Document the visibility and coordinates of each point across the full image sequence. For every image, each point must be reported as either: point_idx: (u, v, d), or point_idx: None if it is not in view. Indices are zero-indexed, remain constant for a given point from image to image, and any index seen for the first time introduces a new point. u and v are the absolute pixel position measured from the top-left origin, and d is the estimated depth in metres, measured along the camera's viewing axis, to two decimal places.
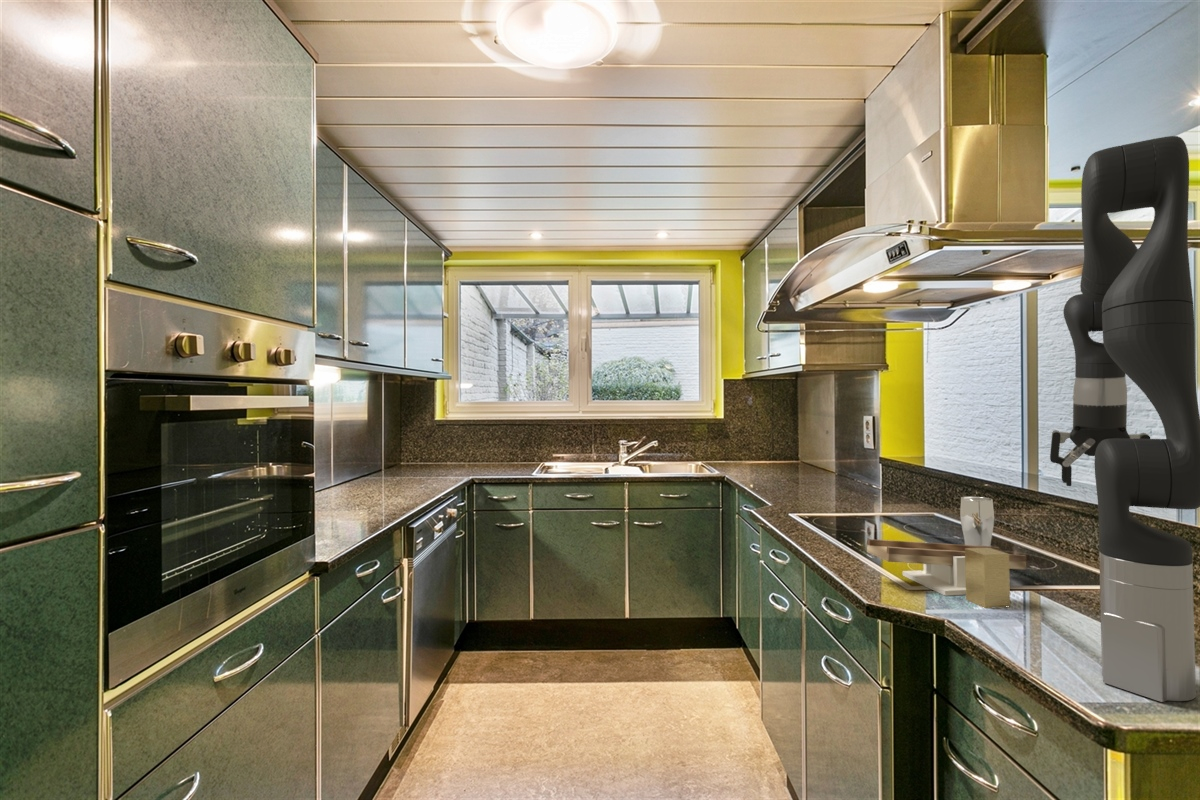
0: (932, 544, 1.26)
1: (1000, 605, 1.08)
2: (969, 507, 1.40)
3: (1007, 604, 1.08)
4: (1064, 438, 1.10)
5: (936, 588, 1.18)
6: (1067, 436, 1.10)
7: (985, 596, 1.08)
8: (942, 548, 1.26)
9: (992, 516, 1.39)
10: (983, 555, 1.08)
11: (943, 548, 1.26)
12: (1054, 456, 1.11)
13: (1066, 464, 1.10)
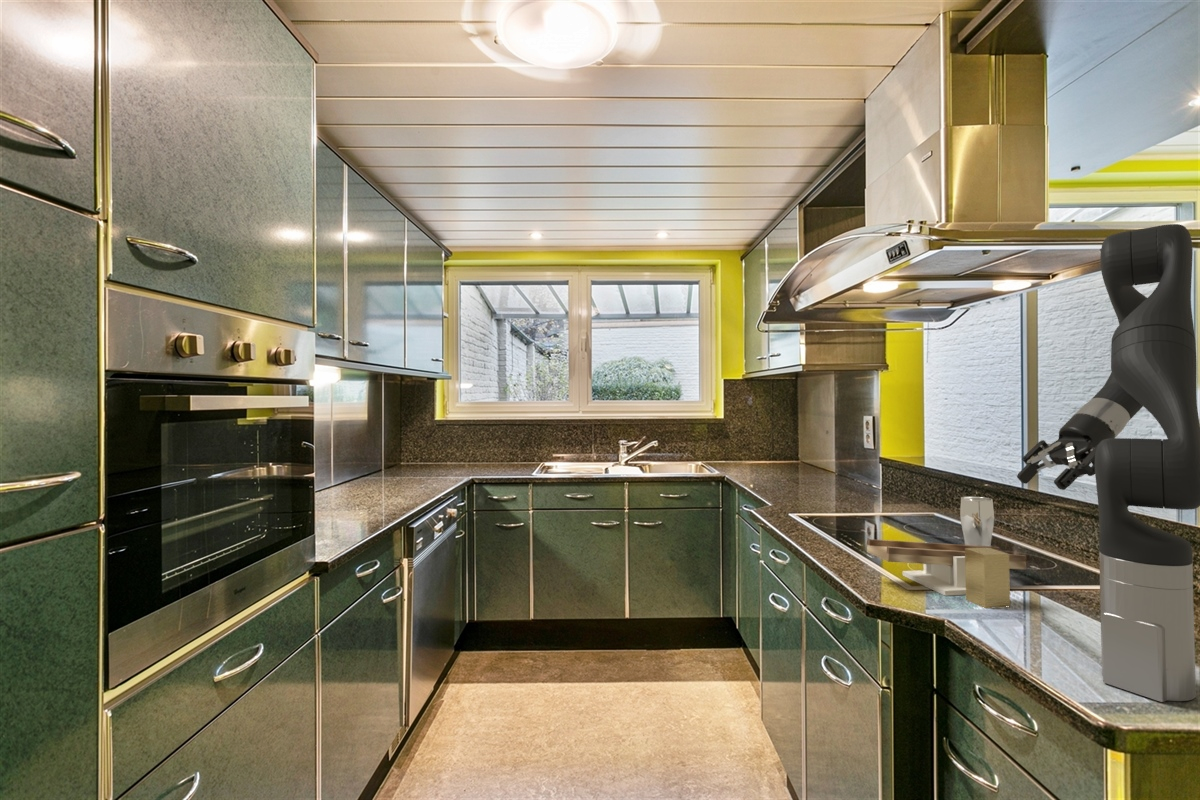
0: (932, 544, 1.26)
1: (1000, 605, 1.08)
2: (969, 507, 1.40)
3: (1007, 604, 1.08)
4: (1046, 447, 1.18)
5: (936, 588, 1.18)
6: (1049, 446, 1.18)
7: (985, 596, 1.08)
8: (942, 548, 1.26)
9: (992, 516, 1.39)
10: (983, 555, 1.08)
11: (943, 548, 1.26)
12: (1026, 455, 1.19)
13: (1029, 460, 1.17)
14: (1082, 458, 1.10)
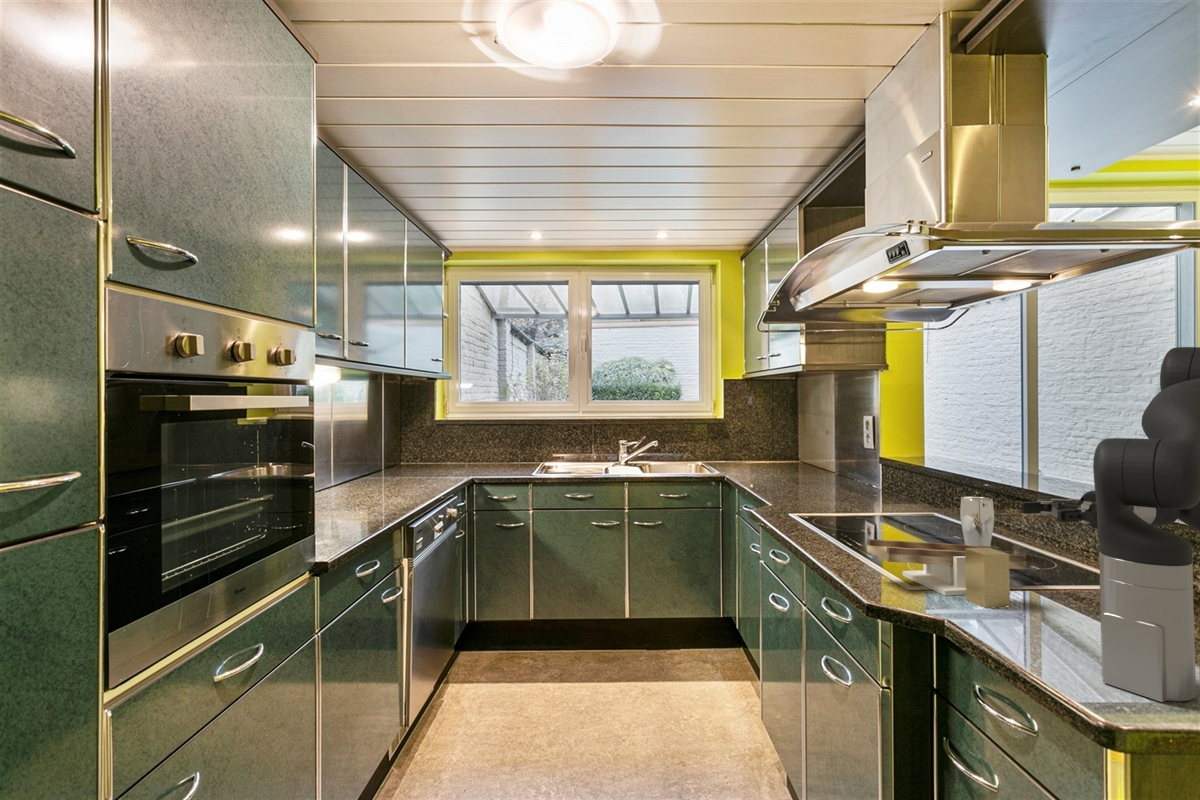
0: (932, 544, 1.26)
1: (1000, 605, 1.08)
2: (969, 507, 1.40)
3: (1007, 604, 1.08)
4: (1060, 503, 1.18)
5: (936, 588, 1.18)
6: None
7: (985, 596, 1.08)
8: (942, 548, 1.26)
9: (992, 516, 1.39)
10: (983, 555, 1.08)
11: (943, 548, 1.26)
12: (1038, 499, 1.19)
13: (1039, 500, 1.17)
14: None
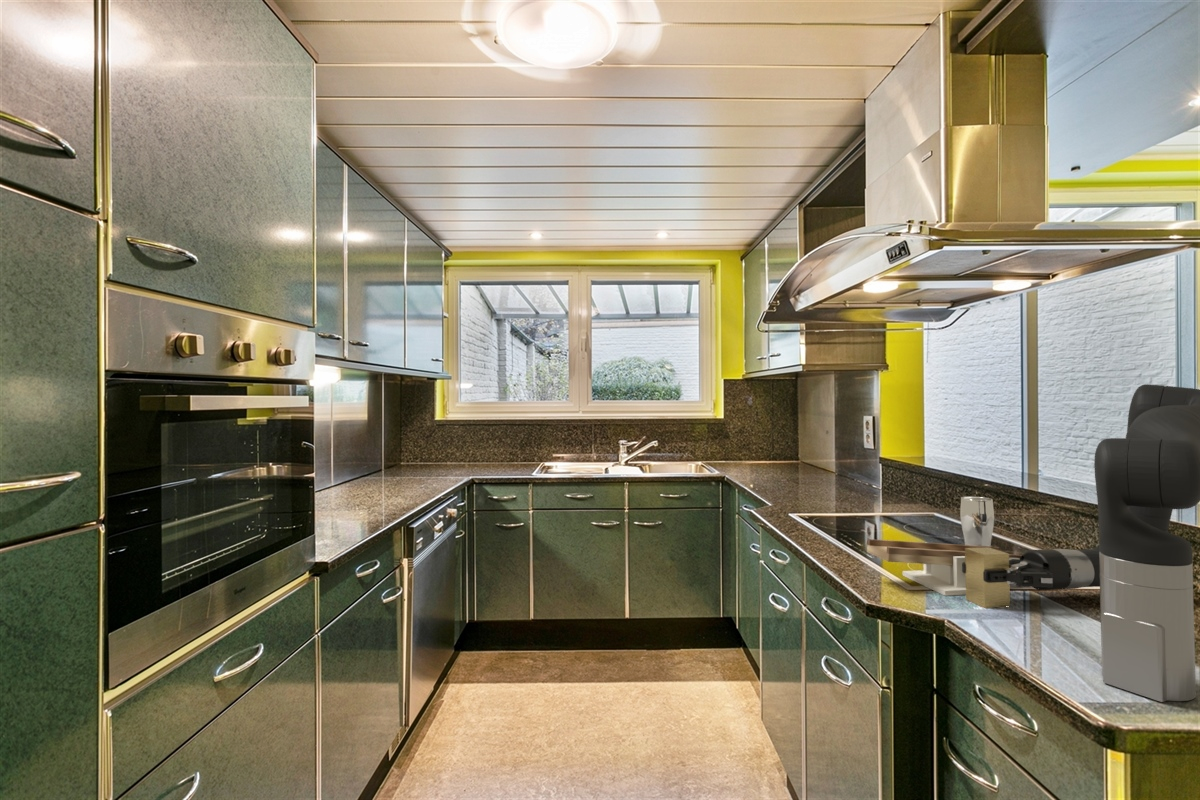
0: (932, 544, 1.26)
1: (1000, 605, 1.08)
2: (969, 507, 1.40)
3: (1007, 604, 1.08)
4: None
5: (936, 588, 1.18)
6: None
7: (985, 596, 1.08)
8: (942, 548, 1.26)
9: (992, 516, 1.39)
10: (983, 555, 1.08)
11: (943, 548, 1.26)
12: None
13: None
14: (1025, 577, 1.09)
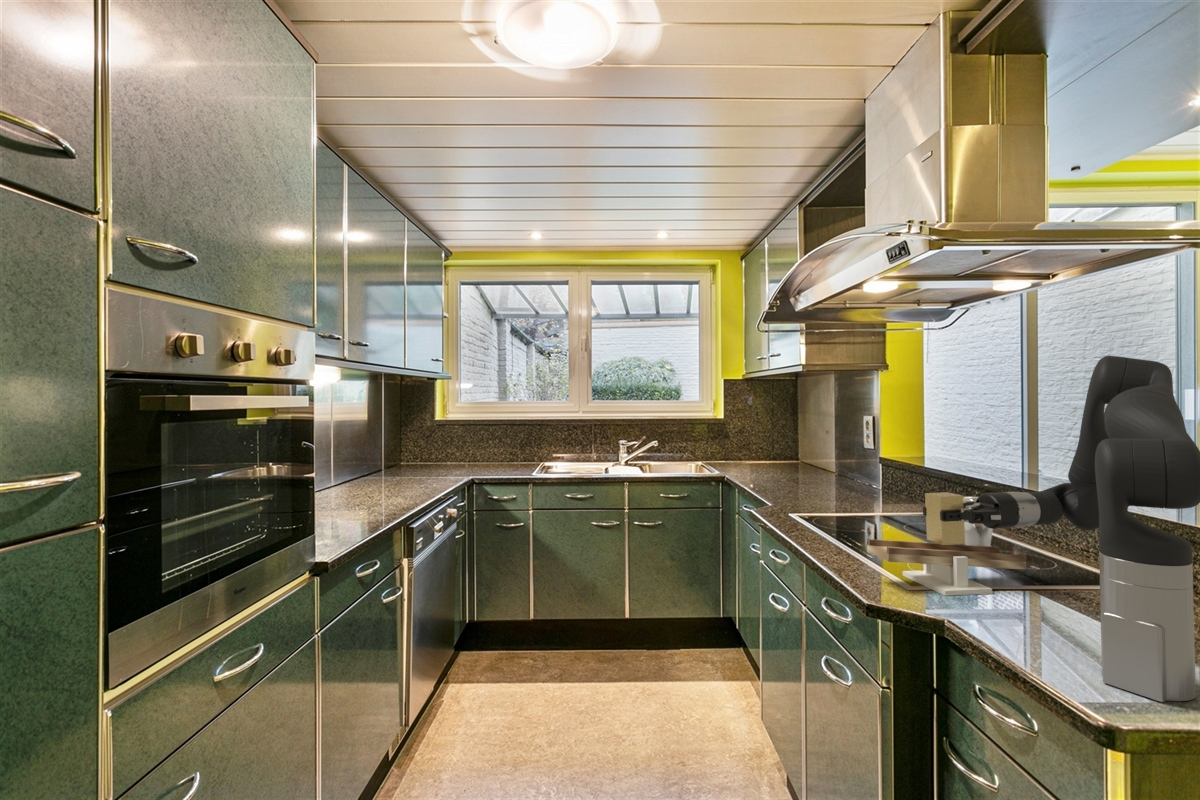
0: (932, 544, 1.26)
1: (956, 542, 1.21)
2: None
3: (962, 541, 1.21)
4: None
5: (936, 588, 1.18)
6: None
7: (942, 534, 1.20)
8: (942, 548, 1.26)
9: None
10: (939, 497, 1.21)
11: (943, 548, 1.26)
12: None
13: None
14: (978, 516, 1.21)
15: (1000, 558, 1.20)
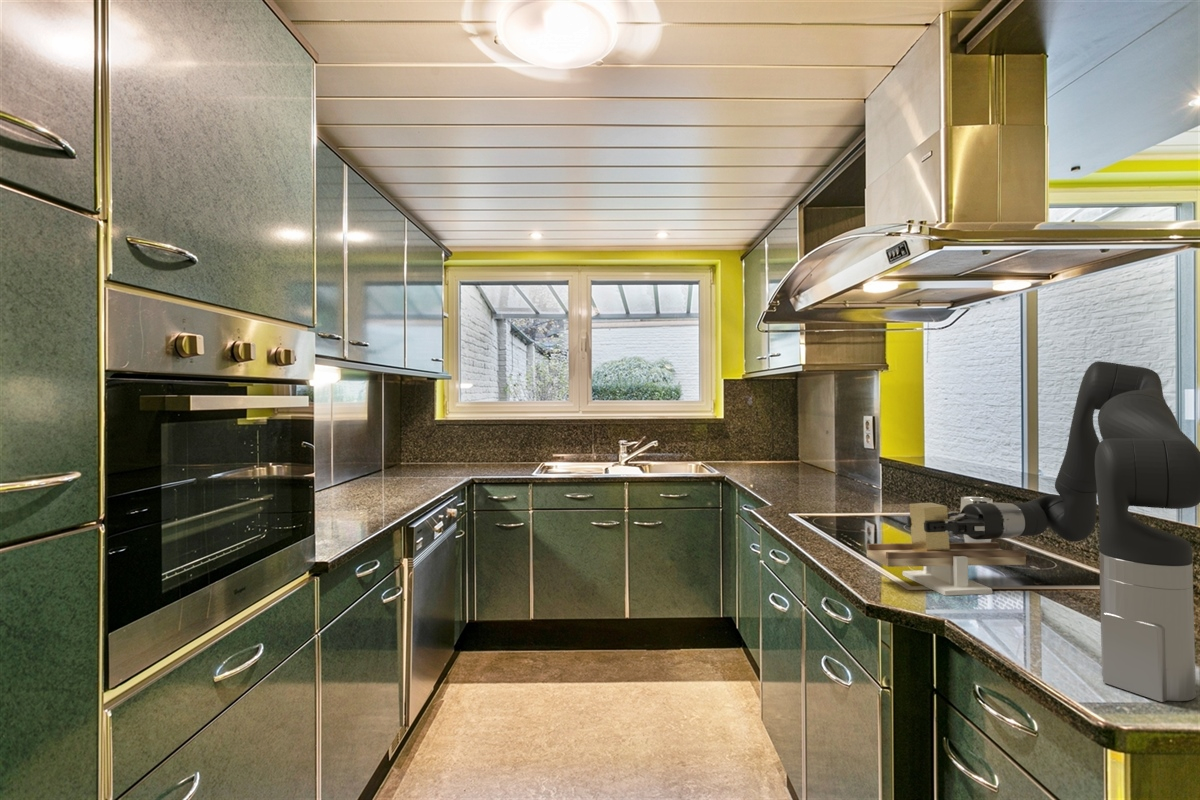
0: None
1: None
2: None
3: None
4: None
5: (936, 588, 1.18)
6: None
7: (926, 545, 1.20)
8: None
9: None
10: (923, 508, 1.20)
11: None
12: None
13: None
14: (962, 527, 1.20)
15: (999, 555, 1.20)
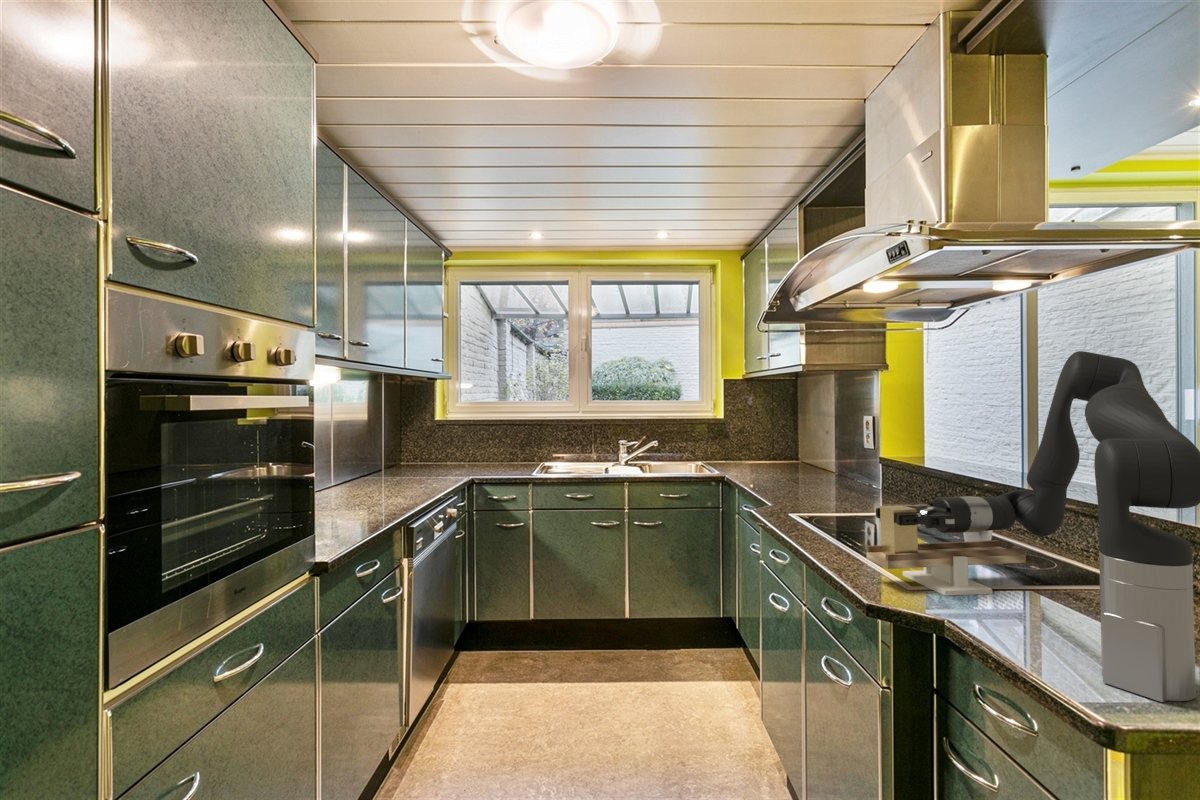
0: (931, 544, 1.26)
1: None
2: None
3: None
4: None
5: (936, 588, 1.18)
6: None
7: (895, 548, 1.19)
8: (941, 548, 1.26)
9: None
10: (893, 510, 1.20)
11: (942, 547, 1.26)
12: None
13: None
14: (932, 520, 1.20)
15: (999, 554, 1.20)
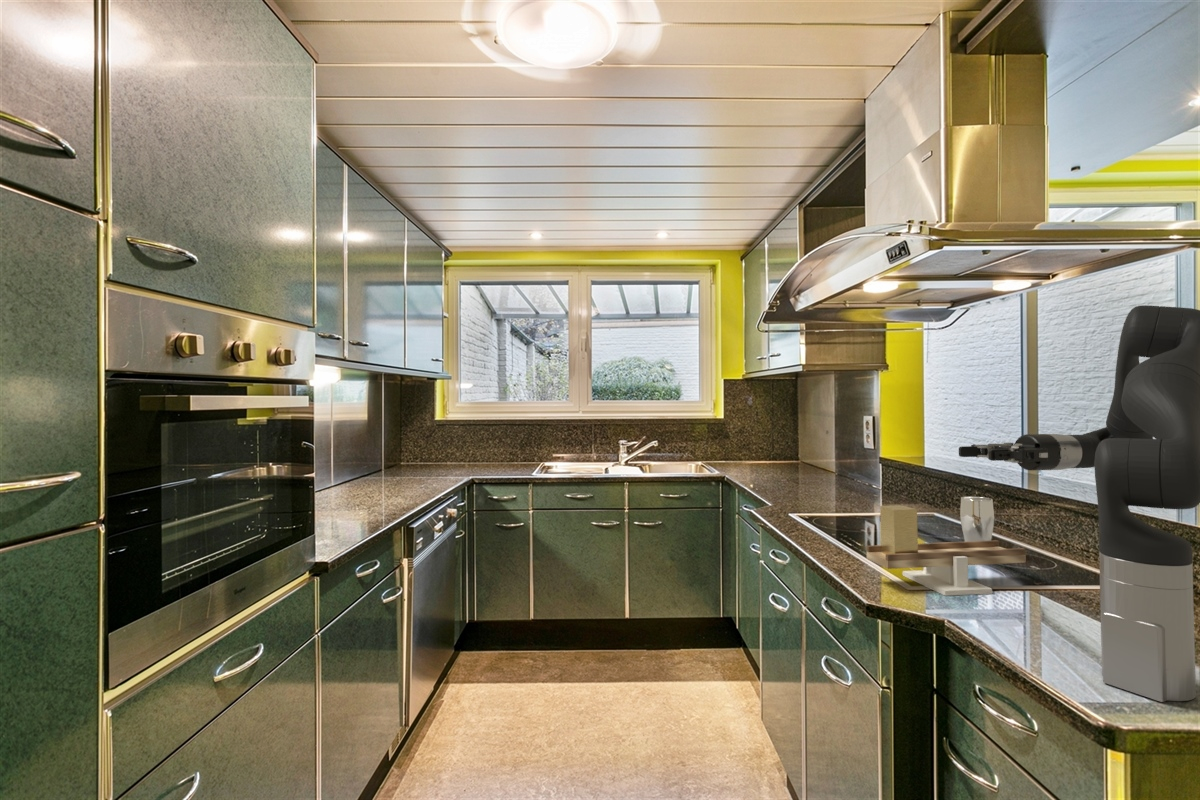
0: (931, 544, 1.26)
1: None
2: (969, 507, 1.40)
3: None
4: (997, 448, 1.25)
5: (936, 588, 1.18)
6: None
7: (895, 547, 1.19)
8: (941, 548, 1.26)
9: (992, 516, 1.39)
10: (893, 510, 1.20)
11: (942, 547, 1.26)
12: None
13: (977, 445, 1.25)
14: None
15: (999, 554, 1.20)
